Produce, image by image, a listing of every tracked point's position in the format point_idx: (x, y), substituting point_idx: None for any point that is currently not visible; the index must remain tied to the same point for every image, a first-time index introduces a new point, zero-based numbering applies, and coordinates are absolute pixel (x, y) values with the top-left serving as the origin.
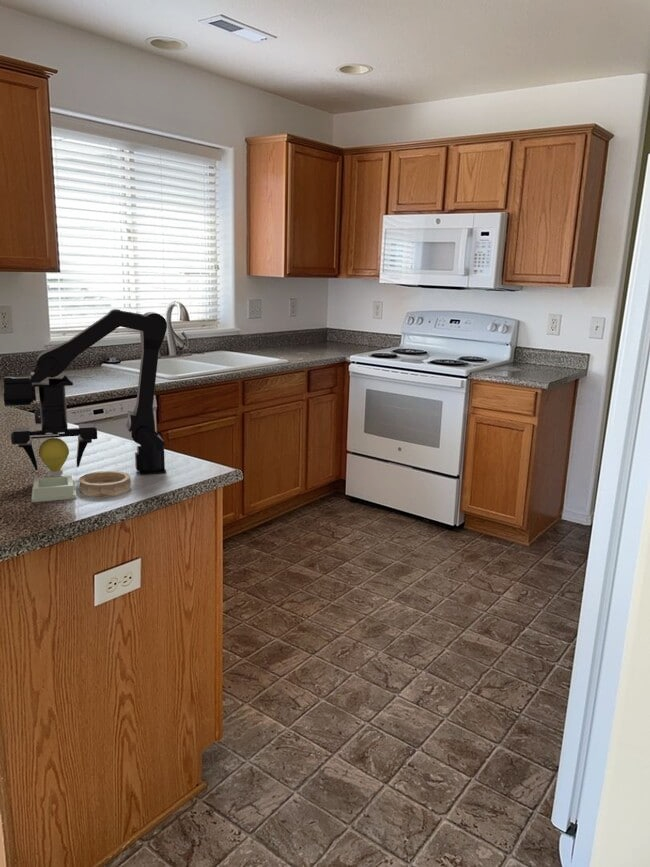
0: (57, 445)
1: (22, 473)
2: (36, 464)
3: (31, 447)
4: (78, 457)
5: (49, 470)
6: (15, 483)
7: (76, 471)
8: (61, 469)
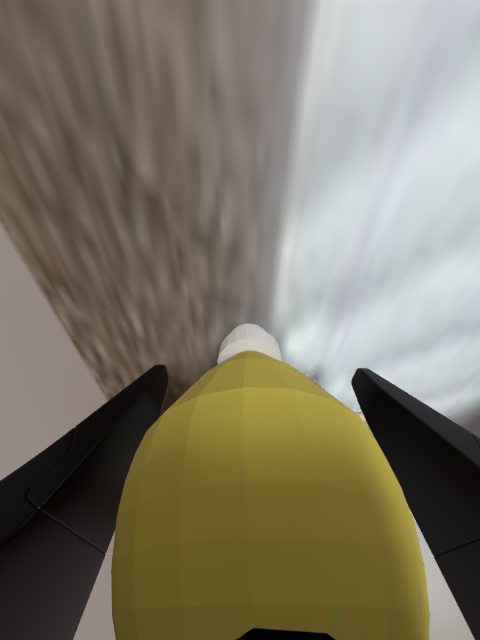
0: (292, 637)
1: (66, 193)
2: (156, 420)
3: (66, 637)
4: (389, 456)
5: (223, 360)
6: (105, 351)
7: (358, 253)
8: (278, 357)
